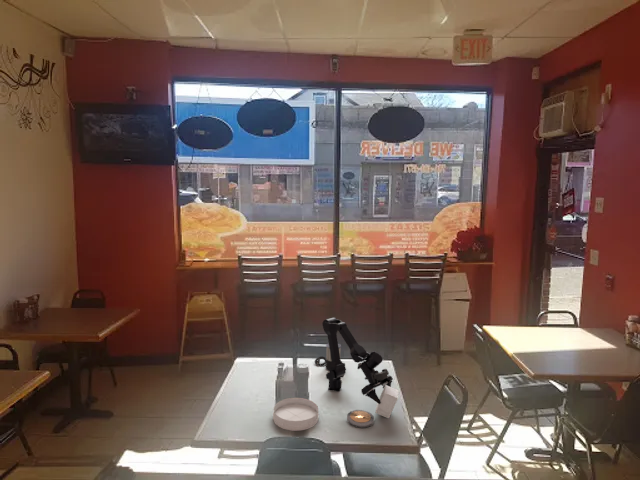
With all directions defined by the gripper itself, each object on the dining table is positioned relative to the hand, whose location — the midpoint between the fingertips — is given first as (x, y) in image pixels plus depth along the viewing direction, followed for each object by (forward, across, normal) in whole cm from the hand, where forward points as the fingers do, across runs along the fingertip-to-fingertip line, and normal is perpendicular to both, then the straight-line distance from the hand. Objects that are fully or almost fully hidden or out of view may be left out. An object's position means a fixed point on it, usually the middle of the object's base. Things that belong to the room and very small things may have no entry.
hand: (386, 400), depth 227 cm
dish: (-14, -36, +24) cm, 45 cm away
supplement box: (+3, 0, +6) cm, 7 cm away
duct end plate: (+2, -13, +9) cm, 16 cm away
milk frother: (-38, +16, +46) cm, 62 cm away
